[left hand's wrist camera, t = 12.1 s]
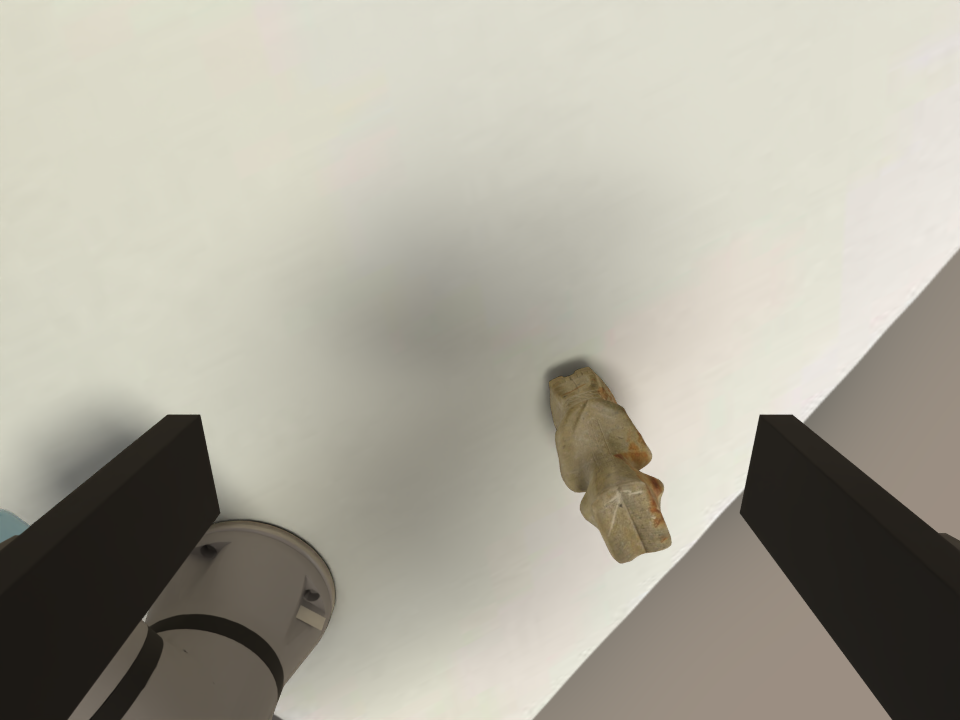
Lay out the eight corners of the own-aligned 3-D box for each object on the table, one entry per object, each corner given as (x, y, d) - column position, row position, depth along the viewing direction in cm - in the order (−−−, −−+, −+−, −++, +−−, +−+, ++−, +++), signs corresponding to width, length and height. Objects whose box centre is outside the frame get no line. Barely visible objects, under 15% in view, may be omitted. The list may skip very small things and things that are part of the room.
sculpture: (557, 449, 44) (594, 584, 30) (531, 373, 42) (557, 480, 28) (626, 428, 43) (696, 556, 29) (603, 349, 41) (667, 447, 27)
